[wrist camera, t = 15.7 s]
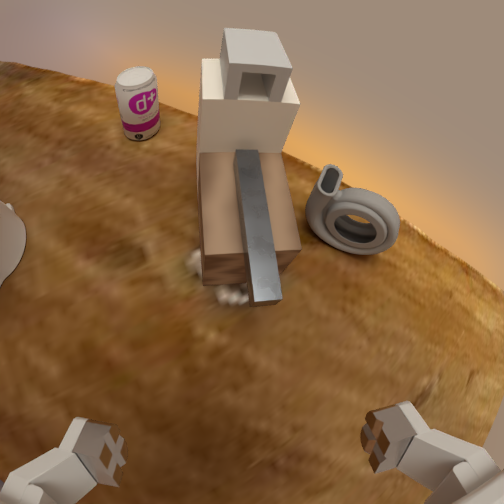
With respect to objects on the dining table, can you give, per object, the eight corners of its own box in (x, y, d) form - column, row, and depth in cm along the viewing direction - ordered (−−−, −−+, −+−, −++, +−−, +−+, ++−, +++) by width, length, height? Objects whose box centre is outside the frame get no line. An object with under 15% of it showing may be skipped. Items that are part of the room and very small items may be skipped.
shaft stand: (197, 202, 52) (205, 62, 25) (196, 160, 56) (205, 27, 29) (262, 200, 55) (313, 71, 28) (255, 159, 58) (293, 34, 31)
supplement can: (165, 133, 57) (162, 78, 44) (130, 147, 55) (119, 93, 41) (153, 112, 59) (148, 60, 45) (120, 125, 56) (109, 73, 43)
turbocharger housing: (373, 243, 56) (417, 208, 42) (365, 270, 53) (412, 239, 39) (300, 203, 56) (330, 155, 42) (288, 229, 54) (318, 183, 40)
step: (203, 285, 47) (204, 254, 34) (197, 202, 52) (199, 152, 40) (274, 280, 49) (301, 249, 37) (262, 200, 55) (280, 153, 42)
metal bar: (249, 307, 33) (254, 301, 30) (233, 163, 40) (235, 149, 37) (275, 304, 33) (282, 299, 31) (254, 163, 40) (258, 149, 38)
